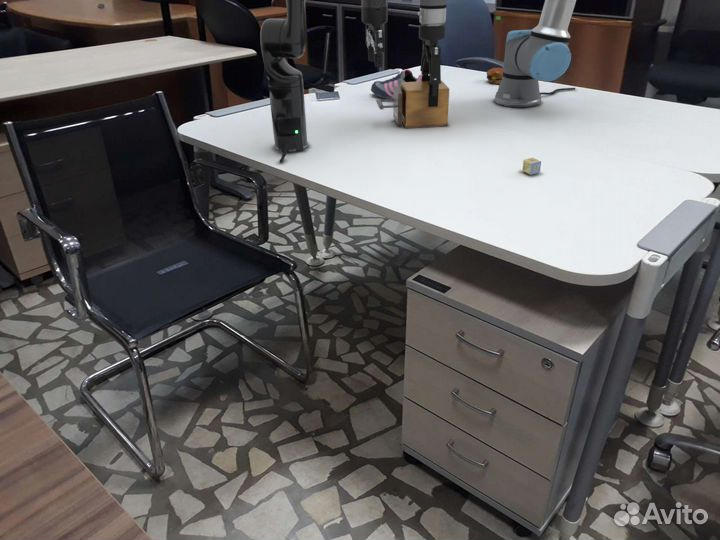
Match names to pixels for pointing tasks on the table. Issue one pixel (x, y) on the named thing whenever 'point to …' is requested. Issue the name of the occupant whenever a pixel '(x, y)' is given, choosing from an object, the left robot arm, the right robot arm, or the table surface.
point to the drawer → (396, 104)
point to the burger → (495, 75)
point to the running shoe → (393, 84)
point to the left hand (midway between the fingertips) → (375, 64)
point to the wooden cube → (425, 105)
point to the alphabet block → (531, 166)
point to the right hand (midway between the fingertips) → (429, 101)
